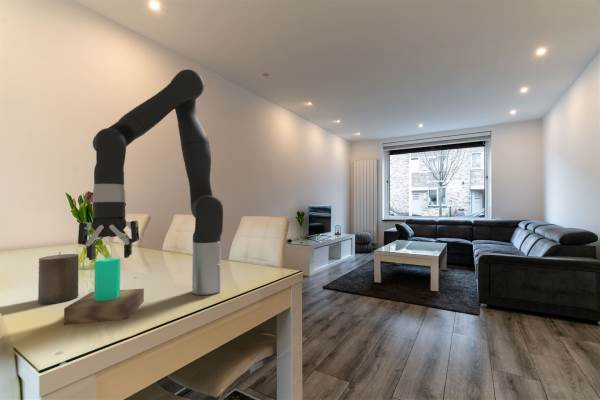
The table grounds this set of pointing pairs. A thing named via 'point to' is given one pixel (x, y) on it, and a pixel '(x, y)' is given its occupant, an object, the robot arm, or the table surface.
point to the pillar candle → (58, 278)
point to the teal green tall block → (107, 279)
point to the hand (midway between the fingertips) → (109, 258)
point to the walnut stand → (103, 307)
